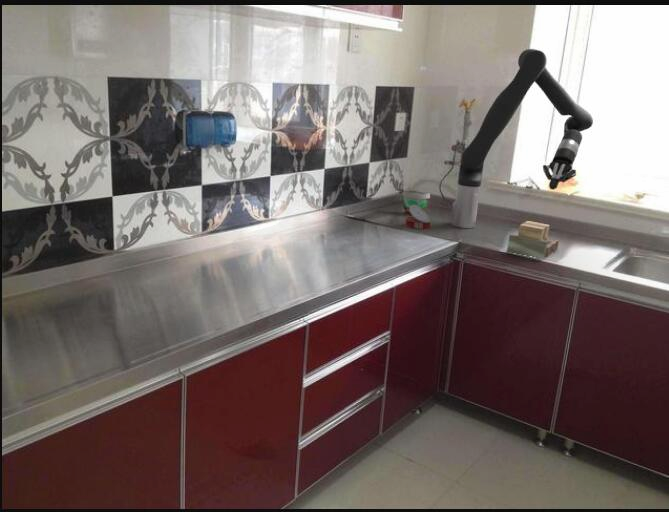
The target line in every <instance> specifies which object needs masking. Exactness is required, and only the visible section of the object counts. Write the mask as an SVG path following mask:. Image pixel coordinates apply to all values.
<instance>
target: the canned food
mask: <svg viewBox="0 0 669 512" xmlns="http://www.w3.org/2000/svg"><path fill="white" fill-rule="evenodd" d="M410 213H411V214H412V215H411V216H407V217H406V218H405V219H406V220H405V227H407V228H409V227H410V229H413V228H414V230H415V229H416V230H428V228H429V229H430V228H431V217H430V216H429V215H428V213H426V211H424V210H422V208H421V207H420V206H418V205H415V204H414V205H411V207H410Z"/></svg>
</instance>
